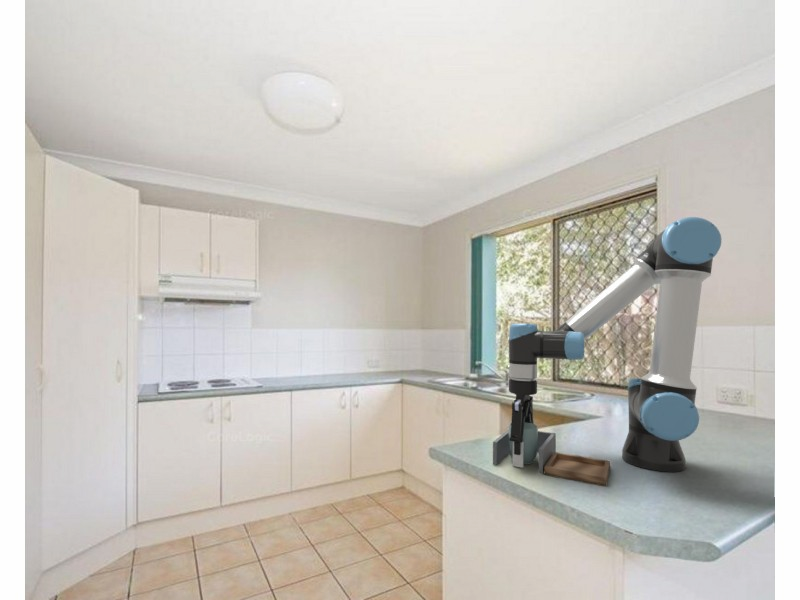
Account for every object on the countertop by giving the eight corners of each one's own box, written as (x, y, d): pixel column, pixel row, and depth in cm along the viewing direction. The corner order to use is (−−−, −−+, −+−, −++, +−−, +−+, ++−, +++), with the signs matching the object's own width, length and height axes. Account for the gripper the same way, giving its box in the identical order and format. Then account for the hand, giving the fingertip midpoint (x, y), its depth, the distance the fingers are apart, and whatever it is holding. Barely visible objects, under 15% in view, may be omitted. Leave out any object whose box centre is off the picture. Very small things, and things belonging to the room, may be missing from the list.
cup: (539, 467, 110) (539, 429, 111) (509, 465, 112) (509, 427, 112) (536, 458, 118) (536, 422, 119) (507, 456, 120) (507, 421, 120)
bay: (555, 454, 122) (555, 433, 122) (542, 473, 106) (542, 449, 106) (511, 446, 129) (511, 427, 129) (492, 464, 113) (492, 441, 113)
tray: (609, 468, 111) (609, 460, 111) (606, 486, 98) (605, 477, 99) (554, 459, 118) (554, 452, 118) (544, 474, 105) (544, 466, 106)
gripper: (519, 373, 127) (518, 448, 126) (498, 382, 109) (497, 470, 108) (544, 375, 124) (544, 452, 123) (527, 385, 105) (527, 476, 104)
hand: (522, 461), depth 115 cm, fingers open, 9 cm apart
